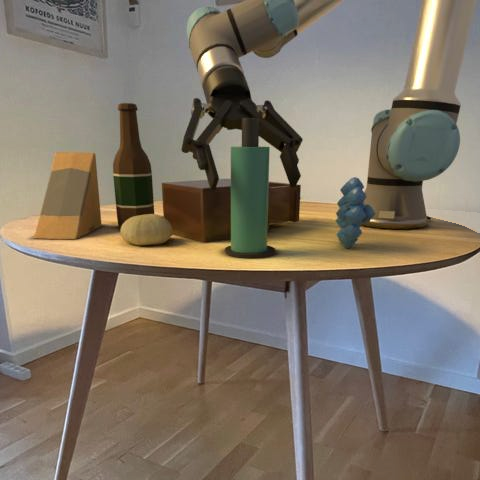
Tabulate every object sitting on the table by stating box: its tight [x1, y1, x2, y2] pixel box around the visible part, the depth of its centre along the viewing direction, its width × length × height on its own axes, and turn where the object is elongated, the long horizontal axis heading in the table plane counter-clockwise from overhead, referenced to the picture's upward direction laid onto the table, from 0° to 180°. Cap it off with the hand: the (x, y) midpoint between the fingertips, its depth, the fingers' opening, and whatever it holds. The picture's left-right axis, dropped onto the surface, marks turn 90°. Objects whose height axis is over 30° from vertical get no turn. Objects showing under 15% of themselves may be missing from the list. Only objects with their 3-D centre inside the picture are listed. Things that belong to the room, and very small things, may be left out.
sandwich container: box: [33, 151, 102, 240], centre depth 92 cm, size 9×15×15 cm, turn 177°
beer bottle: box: [112, 102, 155, 229], centre depth 95 cm, size 8×8×24 cm
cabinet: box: [161, 178, 270, 243], centre depth 94 cm, size 17×14×10 cm
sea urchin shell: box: [119, 213, 173, 246], centre depth 85 cm, size 9×8×8 cm
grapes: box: [335, 176, 375, 249], centre depth 79 cm, size 12×7×12 cm, turn 178°
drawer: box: [269, 181, 302, 225], centre depth 101 cm, size 20×12×8 cm, turn 131°
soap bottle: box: [230, 118, 270, 253], centre depth 74 cm, size 6×6×20 cm
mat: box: [224, 244, 276, 259], centre depth 78 cm, size 8×8×1 cm
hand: (256, 183), depth 72 cm, fingers open, 13 cm apart
